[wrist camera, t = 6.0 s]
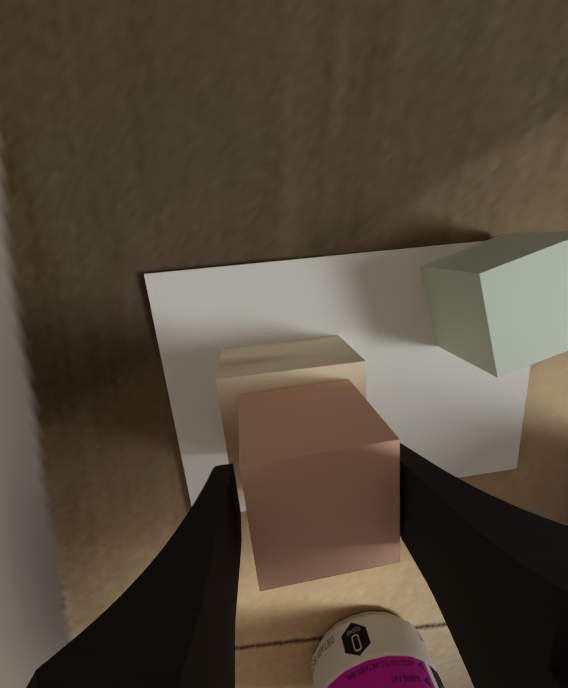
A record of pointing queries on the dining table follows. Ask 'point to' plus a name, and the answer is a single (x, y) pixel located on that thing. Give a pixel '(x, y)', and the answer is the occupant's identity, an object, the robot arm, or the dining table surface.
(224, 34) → the dining table surface
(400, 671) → the supplement can
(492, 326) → the sage block
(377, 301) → the mat
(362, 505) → the terracotta block
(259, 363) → the birch base block
